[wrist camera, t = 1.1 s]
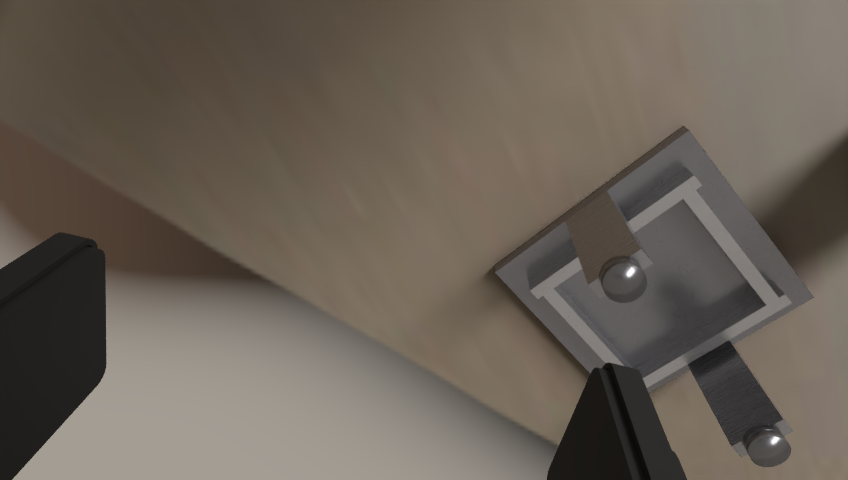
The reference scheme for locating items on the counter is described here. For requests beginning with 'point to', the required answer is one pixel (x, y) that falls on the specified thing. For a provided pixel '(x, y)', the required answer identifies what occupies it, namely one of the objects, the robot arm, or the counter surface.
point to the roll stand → (666, 286)
